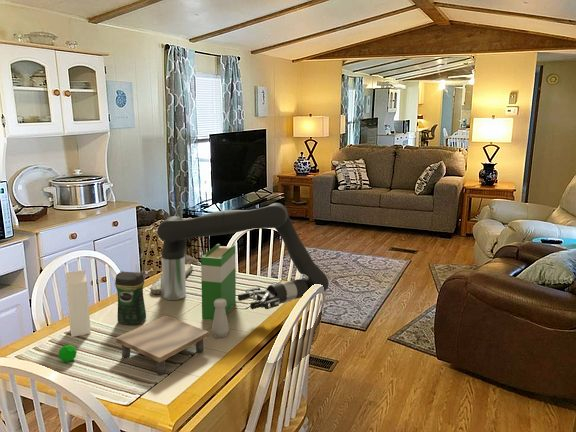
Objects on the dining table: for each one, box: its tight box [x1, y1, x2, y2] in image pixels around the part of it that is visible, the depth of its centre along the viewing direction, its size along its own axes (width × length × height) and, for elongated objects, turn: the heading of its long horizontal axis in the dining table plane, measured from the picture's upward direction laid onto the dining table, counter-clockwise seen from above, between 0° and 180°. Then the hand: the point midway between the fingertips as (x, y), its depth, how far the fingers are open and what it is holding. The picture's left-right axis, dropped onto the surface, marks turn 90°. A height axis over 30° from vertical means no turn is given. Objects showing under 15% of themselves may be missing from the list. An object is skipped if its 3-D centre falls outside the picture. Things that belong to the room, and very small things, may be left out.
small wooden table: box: [115, 315, 209, 376], centre depth 148 cm, size 20×20×6 cm
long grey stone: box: [149, 263, 193, 295], centre depth 211 cm, size 35×5×10 cm
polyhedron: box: [58, 344, 77, 363], centre depth 143 cm, size 5×5×5 cm
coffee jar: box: [114, 270, 147, 326], centre depth 169 cm, size 10×8×19 cm
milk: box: [65, 269, 92, 338], centre depth 159 cm, size 6×6×22 cm
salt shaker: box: [211, 298, 230, 339], centre depth 161 cm, size 6×6×13 cm
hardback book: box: [200, 243, 237, 321], centre depth 179 cm, size 18×7×24 cm, turn 169°
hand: (244, 302), depth 165 cm, fingers open, 8 cm apart
